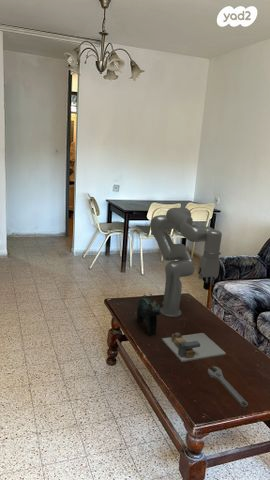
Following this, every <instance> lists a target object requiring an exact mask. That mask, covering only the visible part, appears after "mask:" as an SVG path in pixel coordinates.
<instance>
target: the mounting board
mask: <svg viewBox="0 0 270 480" xmlns="http://www.w3.org/2000/svg"><path fill="white" fill-rule="evenodd" d="M181 336H182V337H183V338H184V340H185V341H186V342H185V343H179V348H178V346H177V345H176V344H175V342H174V341H173V340H172V339H171V338H172V336H171V337H162V338H161V341H162V342H163V343H164V344H165V345H166V346H167V347H168V348H169V350H171V352H172V353H173V354H174V355H175V356H176V358H178V360H179V361H180V362H181V363H185V362H190V361H196V360H202V359H208V358H209V359H210V358H213V357H219V356H224V355H226V352H225V351H224V350H223V349H222V348H221V347H220V346H219V345H218V344H216V343H215V342H214V341H213V340H212V339H211V338H210V337H208V336H207V335H206V334H205V333H204V332H199V333H194V334H193V333H192V334H184V335H181ZM190 348H192V349H193V350H194V351H195V355H194V357H186V356H185V353H186V349H190Z"/></svg>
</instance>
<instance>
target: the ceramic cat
mask: <svg viewBox="0 0 270 480" xmlns="http://www.w3.org/2000/svg"><path fill="white" fill-rule="evenodd" d="M149 296H150V297H153V294H152V293H150V294H149ZM137 304H138V305H137V309H136V311H137V313H136V320H137V322H138V323H143V322H144V321H145V322H146V327H147V329H146V333H147V334H148V335H149V336H156V334H157V328H158V327H157V325H158V324H157V323H158V321H157V316H160V315H161V313H160V309H161V306H160V304H159V302H156V300H152V299H149V297H148V296H147V295H146V294H143V296H142V297H141V298H140V299H139V301H138V303H137Z"/></svg>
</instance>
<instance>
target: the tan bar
mask: <svg viewBox="0 0 270 480" xmlns="http://www.w3.org/2000/svg"><path fill="white" fill-rule="evenodd" d="M182 336H183V335H181V333H180V332H174V333H172V334H171V337H172V338H171V339H172V340H173V341H174V342H175V344H176V345H177V346H178V348H179V343H185V342H186V341H185V340H184V338H183V337H182ZM194 355H195V351H194V350H193V349H192V348H190V349H186V353H185V356H186V357H194Z"/></svg>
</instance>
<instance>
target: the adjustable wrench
mask: <svg viewBox="0 0 270 480" xmlns="http://www.w3.org/2000/svg"><path fill="white" fill-rule="evenodd" d="M213 370H214V371H213ZM207 374H208V376H209V377H210V378H211V379H212V378H213V379H215V380H217V381H218V382H220V384H221V385H222V386H223V387H224V388H225V389H226V391H227V392H228V393H229V394H230V395H231V397H232V398H234V400H235V401H236V402H237V403H238V405H240V406H241V407H242V408H245V409H246V408H248V405H249V403H248V402H247V401H246V400H245V398H244V397H243V396H242V395H241V394H240V393H239V392H238V391H237V390H236V389H235V388H234V387H233V386H232V385H231V383H230V382H228V380H226V379H225V377H224V375H223V371H222V369H221V368H220V367H218V366H212V368H211V369H210V368H208V369H207Z"/></svg>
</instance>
